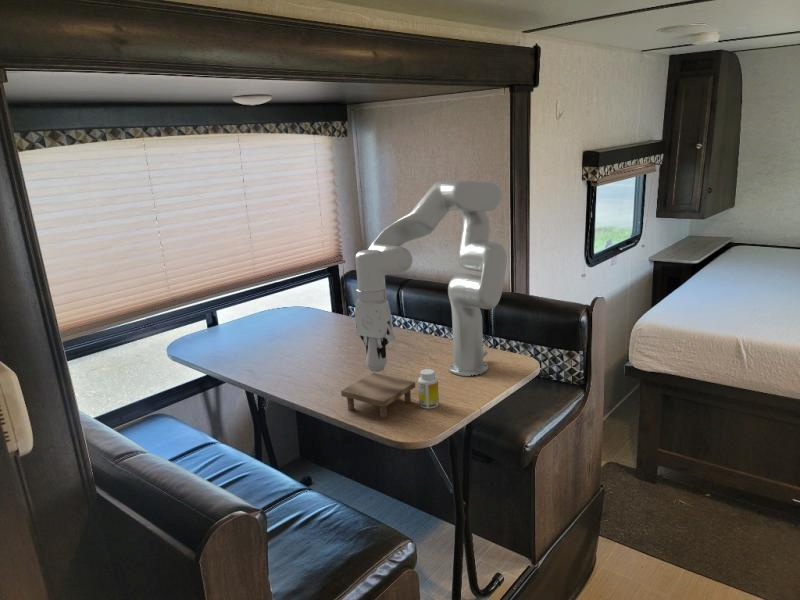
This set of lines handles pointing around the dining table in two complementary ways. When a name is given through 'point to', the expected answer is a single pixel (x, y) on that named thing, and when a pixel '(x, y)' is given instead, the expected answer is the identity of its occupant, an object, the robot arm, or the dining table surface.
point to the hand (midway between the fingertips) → (376, 358)
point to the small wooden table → (378, 391)
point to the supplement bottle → (428, 389)
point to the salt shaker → (374, 356)
